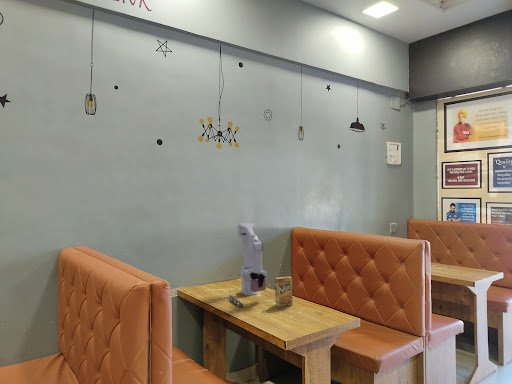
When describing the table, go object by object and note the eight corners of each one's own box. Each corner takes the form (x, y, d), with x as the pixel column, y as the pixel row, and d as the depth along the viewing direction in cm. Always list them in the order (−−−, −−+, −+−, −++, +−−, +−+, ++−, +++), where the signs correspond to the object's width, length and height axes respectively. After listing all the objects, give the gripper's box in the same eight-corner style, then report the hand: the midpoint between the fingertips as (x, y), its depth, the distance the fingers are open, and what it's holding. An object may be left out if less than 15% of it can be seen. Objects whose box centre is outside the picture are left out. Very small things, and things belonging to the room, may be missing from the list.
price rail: (229, 299, 213) (229, 295, 213) (231, 299, 213) (231, 295, 213) (240, 308, 196) (240, 303, 196) (242, 307, 197) (242, 303, 197)
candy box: (277, 307, 197) (277, 278, 197) (275, 304, 201) (274, 277, 201) (292, 305, 200) (292, 277, 200) (290, 303, 204) (289, 275, 204)
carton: (250, 290, 207) (250, 280, 207) (260, 288, 212) (260, 278, 212) (255, 292, 203) (254, 281, 203) (265, 289, 209) (265, 279, 209)
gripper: (244, 262, 211) (244, 285, 211) (260, 265, 200) (260, 289, 200) (253, 260, 215) (253, 283, 215) (269, 263, 204) (270, 287, 204)
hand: (257, 286), depth 208 cm, fingers closed on carton, 4 cm apart
